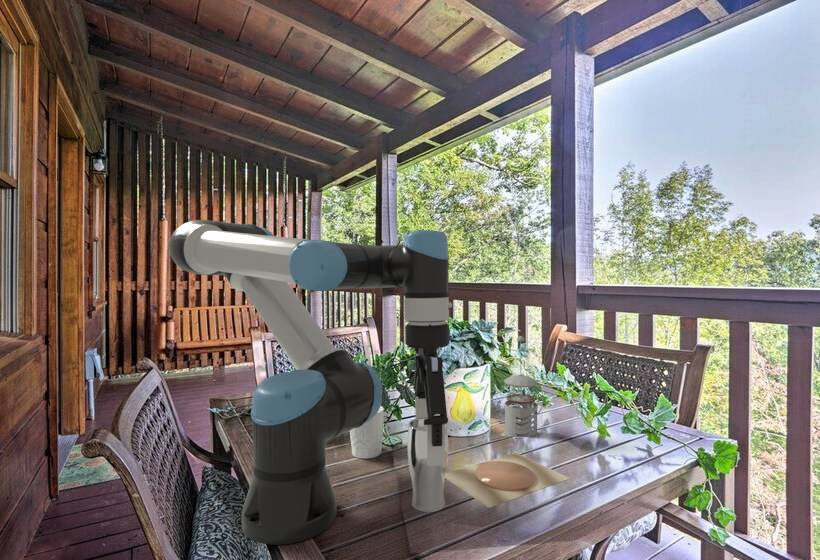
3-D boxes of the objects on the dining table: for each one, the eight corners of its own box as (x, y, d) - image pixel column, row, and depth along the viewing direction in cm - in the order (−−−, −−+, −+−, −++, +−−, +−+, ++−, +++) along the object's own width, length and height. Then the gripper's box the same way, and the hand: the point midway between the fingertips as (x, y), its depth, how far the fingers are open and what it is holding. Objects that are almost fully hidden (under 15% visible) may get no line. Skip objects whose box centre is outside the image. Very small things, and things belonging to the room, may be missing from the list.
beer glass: (414, 526, 70) (413, 432, 69) (403, 504, 76) (402, 418, 76) (454, 519, 71) (454, 428, 71) (440, 498, 78) (440, 415, 78)
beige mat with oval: (488, 516, 72) (488, 507, 72) (440, 482, 84) (440, 474, 84) (570, 486, 82) (569, 478, 82) (516, 459, 94) (516, 452, 94)
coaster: (484, 492, 77) (484, 489, 77) (469, 465, 88) (469, 462, 88) (544, 488, 78) (544, 485, 78) (521, 462, 89) (521, 459, 89)
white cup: (342, 456, 97) (341, 411, 97) (361, 443, 104) (361, 402, 104) (371, 462, 93) (371, 416, 93) (390, 449, 100) (390, 406, 100)
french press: (492, 433, 110) (492, 335, 109) (527, 426, 115) (527, 332, 115) (519, 447, 101) (518, 340, 101) (555, 438, 106) (555, 336, 106)
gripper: (467, 330, 61) (469, 480, 62) (436, 315, 86) (437, 422, 86) (414, 332, 61) (416, 483, 61) (398, 316, 85) (400, 424, 86)
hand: (429, 448), depth 74 cm, fingers open, 13 cm apart
